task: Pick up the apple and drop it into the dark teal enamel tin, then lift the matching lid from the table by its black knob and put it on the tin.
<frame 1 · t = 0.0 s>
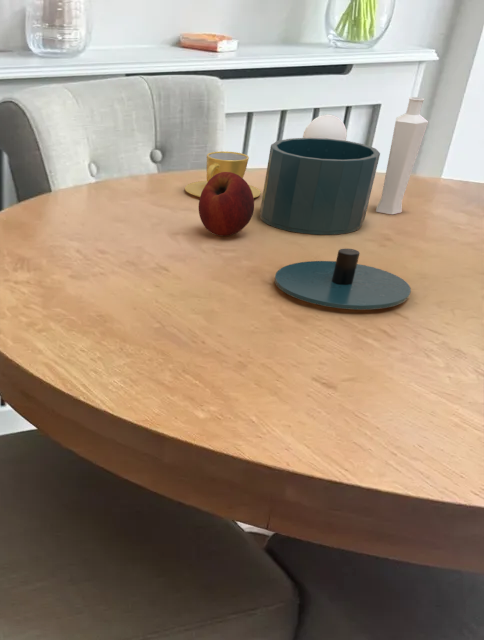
apple: (221, 235, 122), on the table
tin lid: (341, 285, 104), point 1 cm above the table
perfume bottle: (388, 212, 132), on the table
tin: (310, 220, 128), on the table
light bulb: (313, 192, 141), on the table
cup: (222, 194, 139), on the table
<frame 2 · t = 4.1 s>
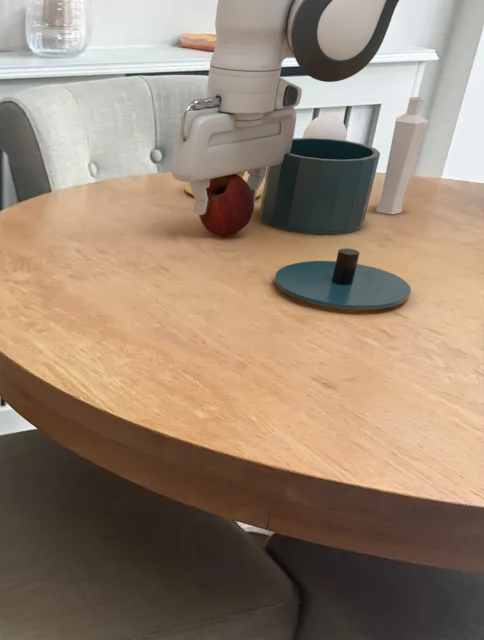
hand: (224, 208, 120), 3 cm above the table, tool pointing down, fingers closed on apple, 8 cm apart
apple: (221, 235, 122), on the table, touching gripper
everything else where it was.
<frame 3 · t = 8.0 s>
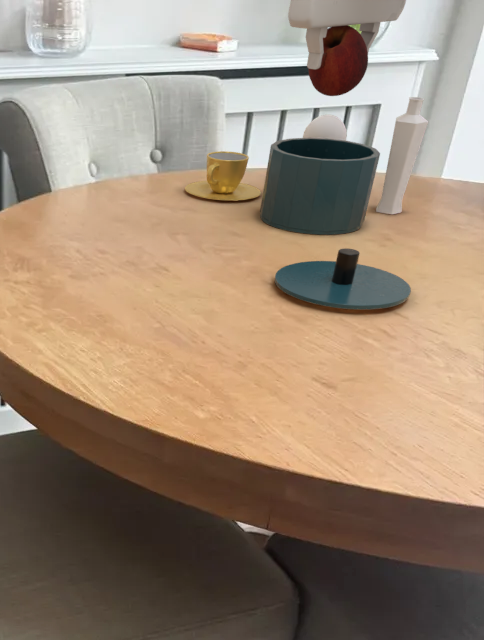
hand: (336, 65, 115), 20 cm above the table, tool pointing down, fingers closed on apple, 8 cm apart
apple: (331, 97, 117), point 16 cm above the table, touching gripper
everything else where it was.
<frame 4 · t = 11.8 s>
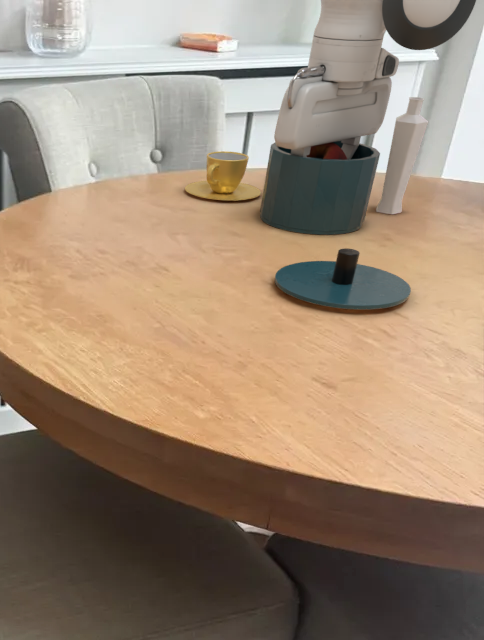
hand: (320, 176, 124), 6 cm above the table, tool pointing down, fingers closed on apple, 8 cm apart
apple: (315, 203, 126), point 2 cm above the table, touching gripper
everything else where it was.
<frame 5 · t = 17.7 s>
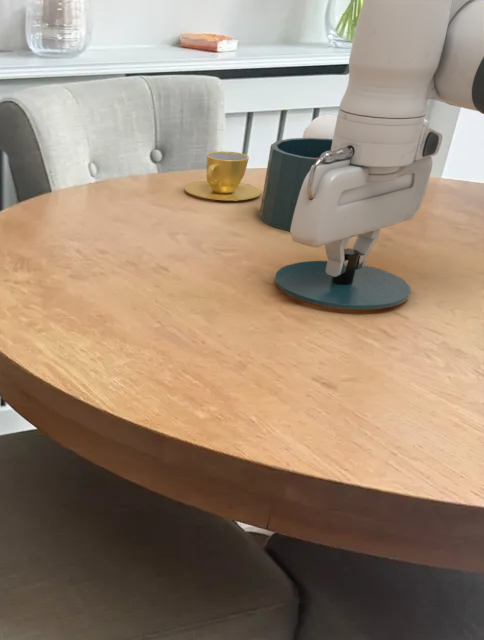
hand: (344, 271, 103), 2 cm above the table, tool pointing down, fingers closed on tin lid, 2 cm apart
apple: (313, 218, 127), resting on tin
tin lid: (341, 285, 104), point 1 cm above the table, touching gripper
everything else where it was.
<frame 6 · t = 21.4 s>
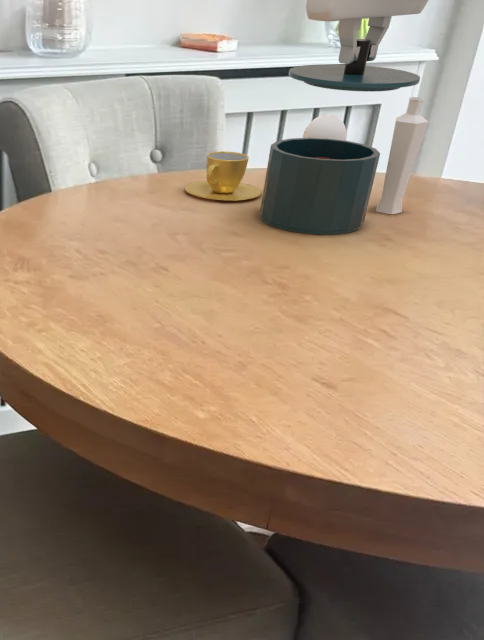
hand: (356, 62, 107), 21 cm above the table, tool pointing down, fingers closed on tin lid, 2 cm apart
tin lid: (352, 78, 108), point 19 cm above the table, touching gripper
everything else where it was.
when the fingers open (11 cm above the table, at t = 25.4 s): tin lid stays where it is, resting on tin.
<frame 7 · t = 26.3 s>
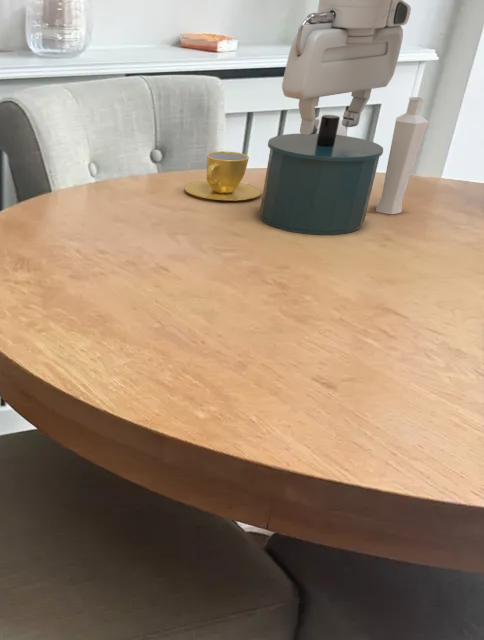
hand: (329, 130, 120), 12 cm above the table, tool pointing down, fingers open, 8 cm apart
tin lid: (324, 148, 122), point 9 cm above the table, touching tin
everything else where it was.
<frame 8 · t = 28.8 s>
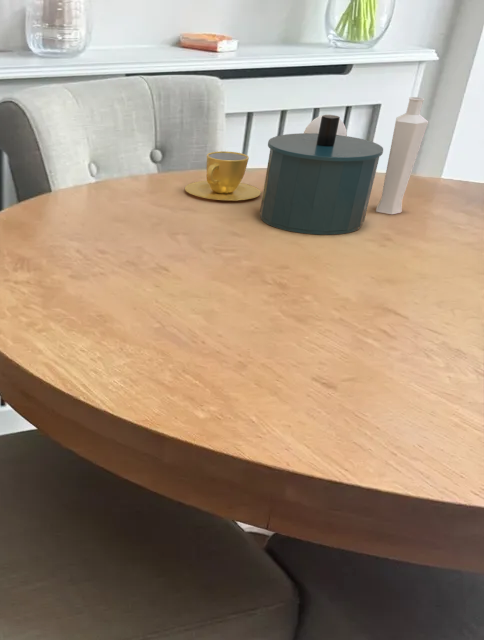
nothing on the table moved.
at the end: apple inside the target area in the tin (0.4 cm from its centre), point 0.3 cm above the tin's base; tin lid 0.1 cm off-centre on the tin, point 9.5 cm above the tin's base; tin lid tilted 0° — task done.
